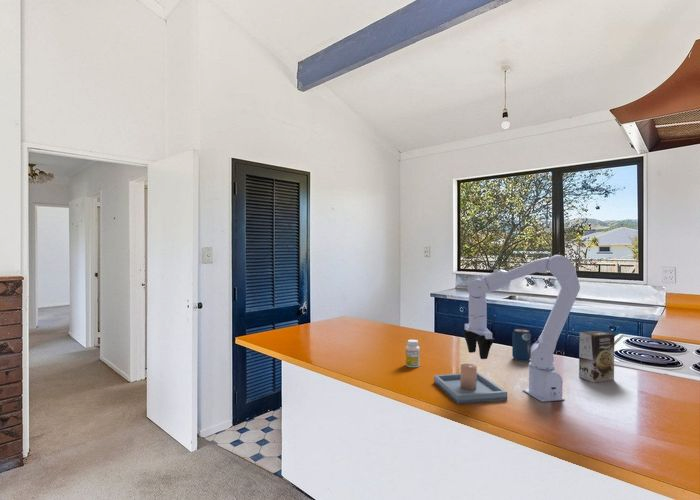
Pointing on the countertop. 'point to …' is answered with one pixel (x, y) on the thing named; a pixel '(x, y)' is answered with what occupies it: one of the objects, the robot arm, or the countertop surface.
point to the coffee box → (596, 356)
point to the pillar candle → (468, 377)
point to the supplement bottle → (412, 354)
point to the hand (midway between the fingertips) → (477, 355)
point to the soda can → (521, 345)
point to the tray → (482, 394)
